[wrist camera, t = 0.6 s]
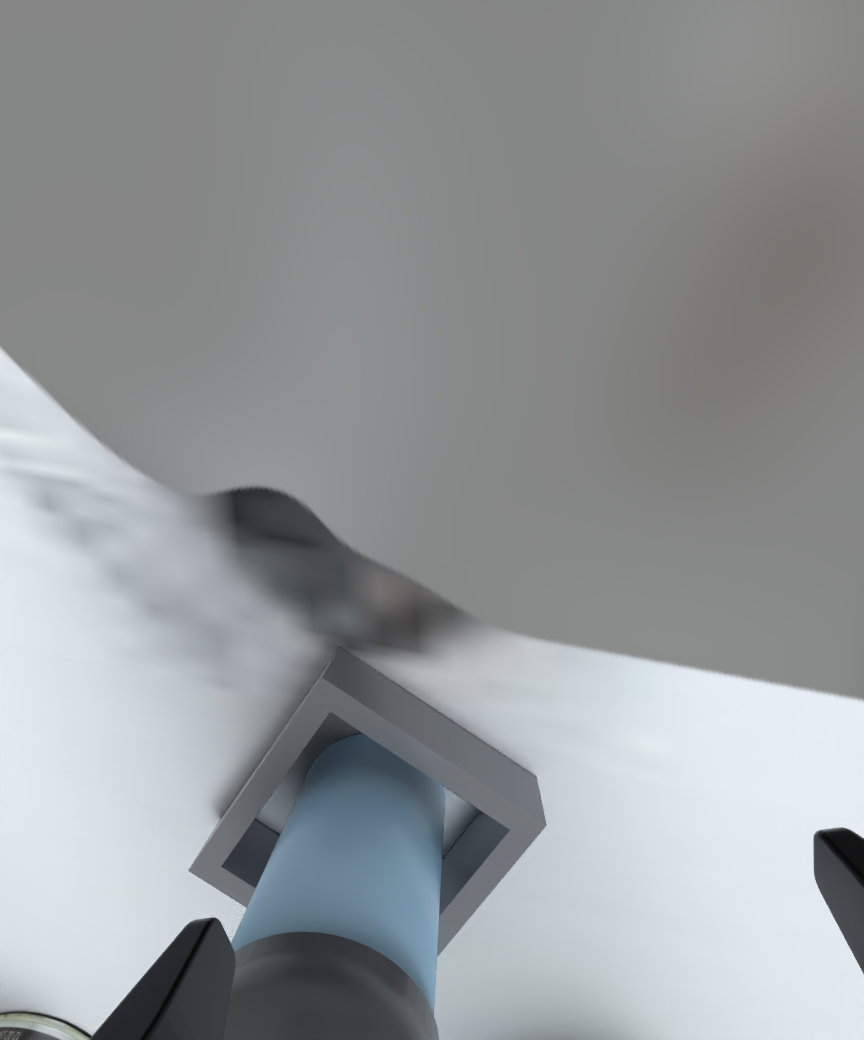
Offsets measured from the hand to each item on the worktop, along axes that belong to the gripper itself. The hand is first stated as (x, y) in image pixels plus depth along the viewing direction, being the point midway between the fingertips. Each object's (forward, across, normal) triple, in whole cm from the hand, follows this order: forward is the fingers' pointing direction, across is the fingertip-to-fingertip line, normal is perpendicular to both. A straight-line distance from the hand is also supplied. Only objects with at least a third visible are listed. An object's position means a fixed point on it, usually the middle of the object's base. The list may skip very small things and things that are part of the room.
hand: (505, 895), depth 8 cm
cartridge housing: (+14, +7, +11) cm, 19 cm away
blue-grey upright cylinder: (+14, +7, +11) cm, 19 cm away
